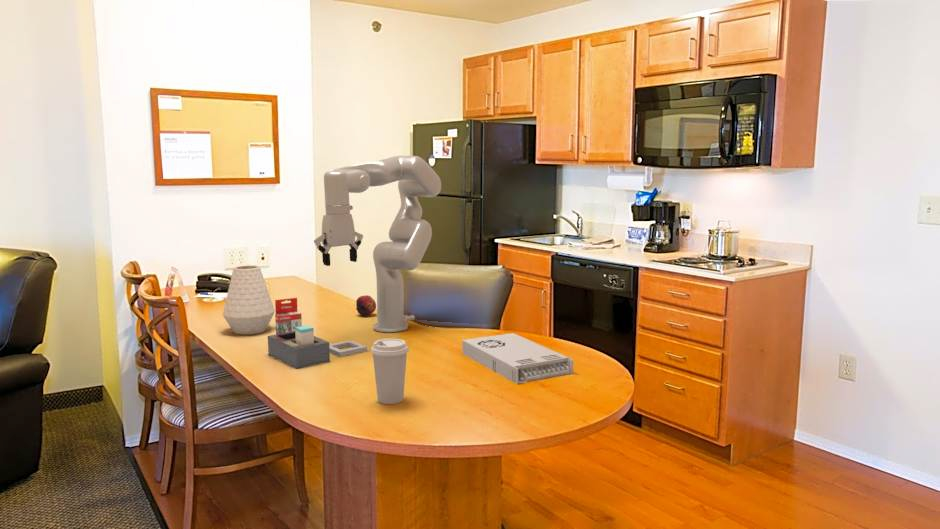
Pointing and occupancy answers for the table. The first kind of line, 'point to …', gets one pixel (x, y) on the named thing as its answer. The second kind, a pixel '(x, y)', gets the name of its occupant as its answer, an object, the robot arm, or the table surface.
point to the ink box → (287, 316)
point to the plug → (304, 335)
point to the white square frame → (353, 350)
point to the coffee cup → (390, 369)
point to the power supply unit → (517, 357)
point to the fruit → (365, 305)
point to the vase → (248, 301)
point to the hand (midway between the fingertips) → (340, 263)
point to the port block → (298, 350)
